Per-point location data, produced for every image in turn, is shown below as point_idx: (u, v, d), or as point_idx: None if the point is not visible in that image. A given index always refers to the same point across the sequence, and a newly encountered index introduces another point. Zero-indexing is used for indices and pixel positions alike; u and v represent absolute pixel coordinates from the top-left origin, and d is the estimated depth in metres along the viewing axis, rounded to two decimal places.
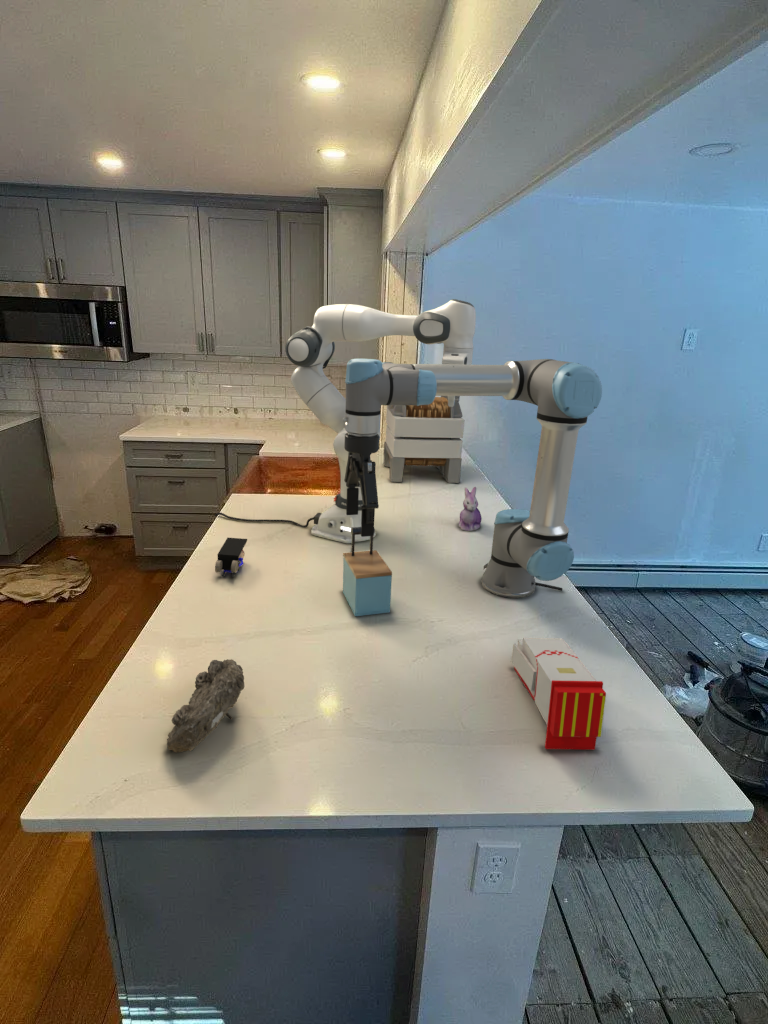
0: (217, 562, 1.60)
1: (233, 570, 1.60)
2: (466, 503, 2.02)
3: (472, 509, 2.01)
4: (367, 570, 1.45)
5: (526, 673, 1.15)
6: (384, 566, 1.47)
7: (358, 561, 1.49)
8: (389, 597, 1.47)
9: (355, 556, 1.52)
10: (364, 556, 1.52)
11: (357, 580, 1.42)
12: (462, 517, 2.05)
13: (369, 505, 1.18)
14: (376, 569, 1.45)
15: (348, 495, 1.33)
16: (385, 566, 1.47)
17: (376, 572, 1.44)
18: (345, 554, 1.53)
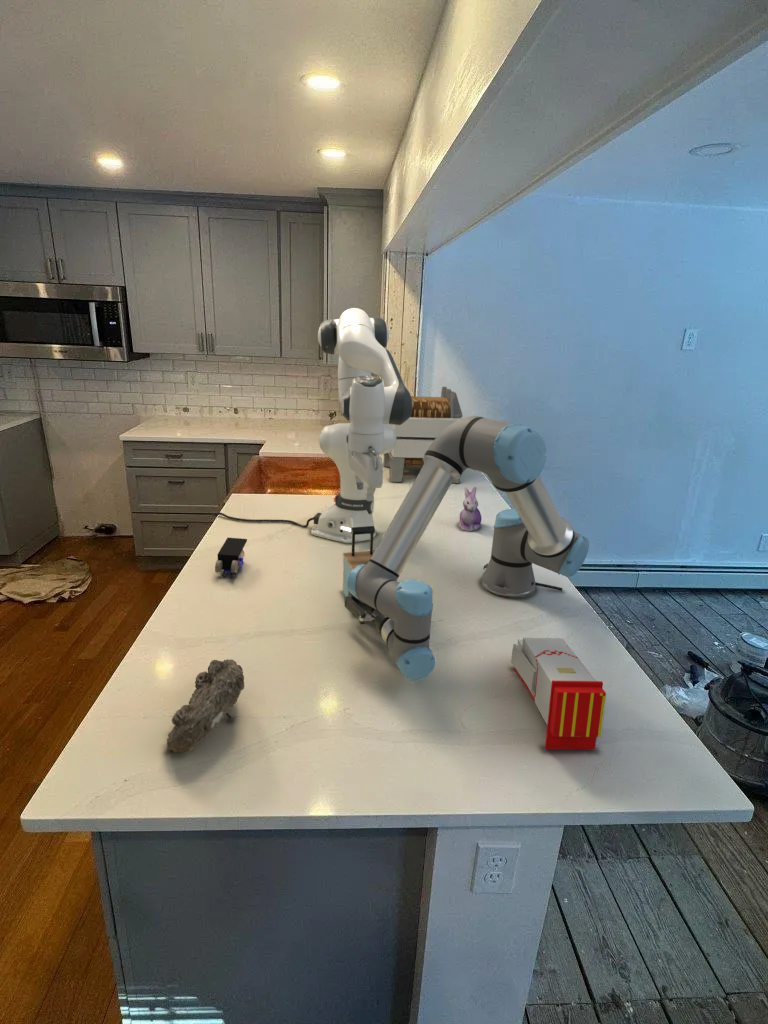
0: (217, 562, 1.60)
1: (233, 570, 1.60)
2: (466, 503, 2.02)
3: (472, 509, 2.01)
4: None
5: (526, 673, 1.15)
6: None
7: (358, 561, 1.49)
8: None
9: (355, 556, 1.52)
10: (364, 556, 1.52)
11: None
12: (462, 517, 2.05)
13: None
14: None
15: None
16: None
17: None
18: (345, 554, 1.53)
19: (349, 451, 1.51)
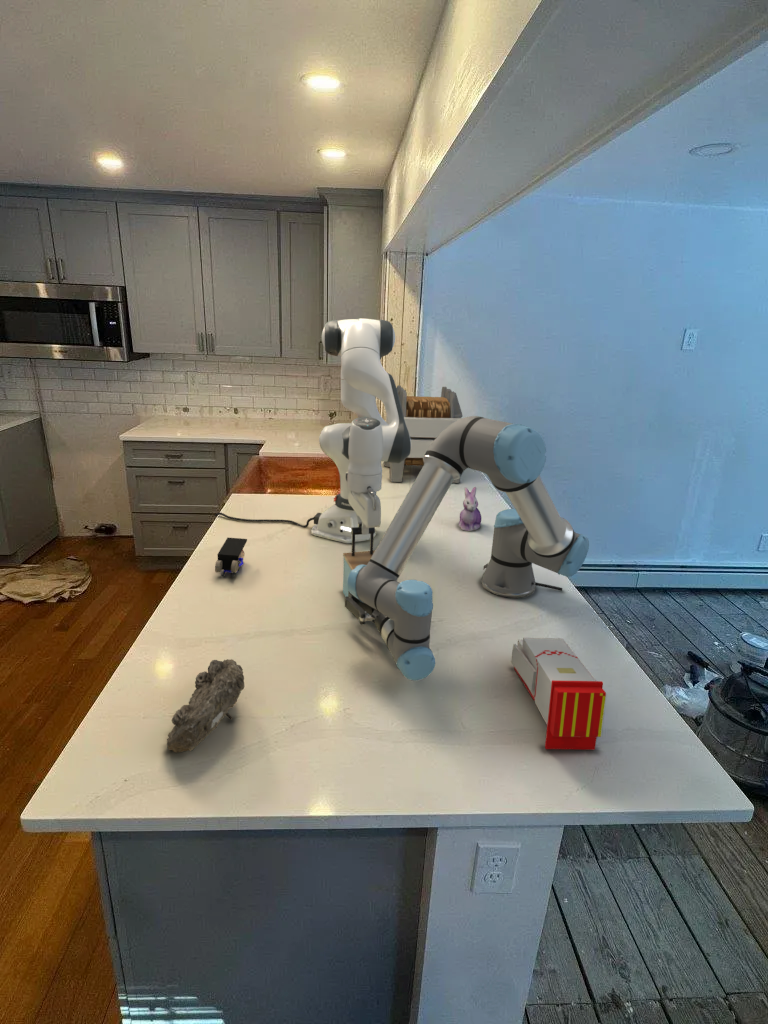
0: (217, 562, 1.60)
1: (233, 570, 1.60)
2: (466, 503, 2.02)
3: (472, 509, 2.01)
4: None
5: (526, 673, 1.15)
6: None
7: (358, 561, 1.49)
8: None
9: (355, 556, 1.52)
10: (364, 556, 1.52)
11: None
12: (462, 517, 2.05)
13: None
14: None
15: None
16: None
17: None
18: (345, 554, 1.53)
19: None
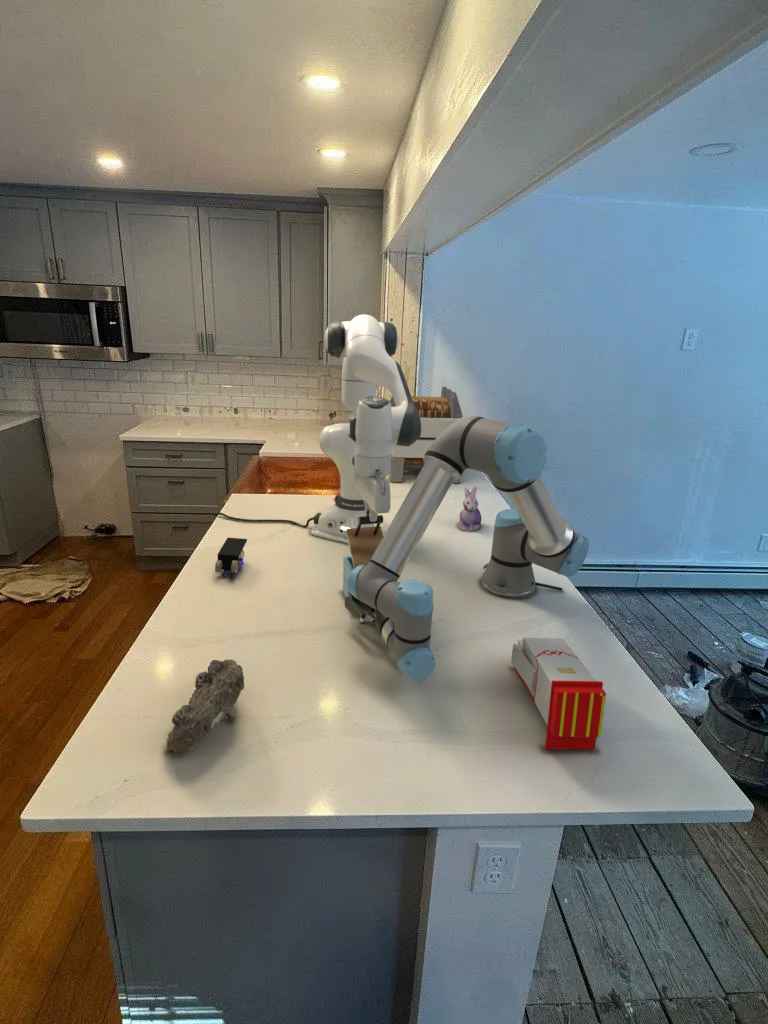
0: (217, 562, 1.60)
1: (233, 570, 1.60)
2: (466, 503, 2.02)
3: (472, 509, 2.01)
4: None
5: (526, 673, 1.15)
6: None
7: (361, 548, 1.46)
8: None
9: (358, 537, 1.48)
10: (367, 538, 1.48)
11: None
12: (462, 517, 2.05)
13: None
14: None
15: None
16: None
17: None
18: (349, 532, 1.48)
19: (355, 473, 1.46)
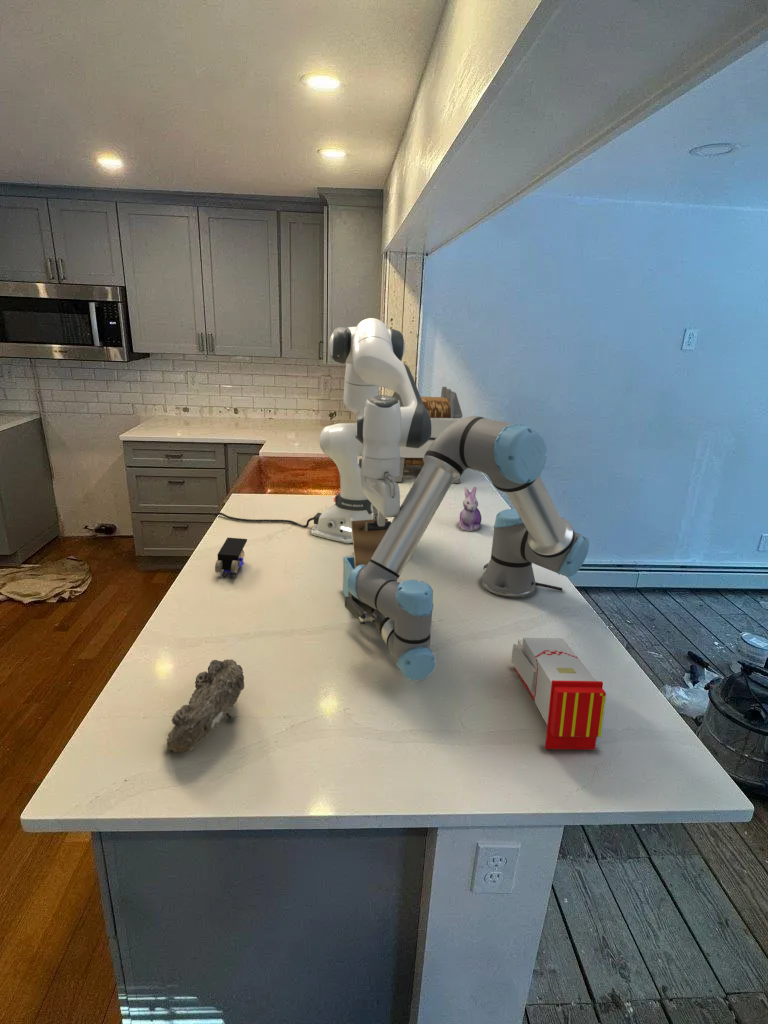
0: (217, 562, 1.60)
1: (233, 570, 1.60)
2: (466, 503, 2.02)
3: (472, 509, 2.01)
4: None
5: (526, 673, 1.15)
6: None
7: (364, 544, 1.42)
8: None
9: (363, 531, 1.43)
10: (372, 533, 1.43)
11: None
12: (462, 517, 2.05)
13: None
14: None
15: None
16: None
17: None
18: (354, 526, 1.42)
19: (362, 476, 1.40)
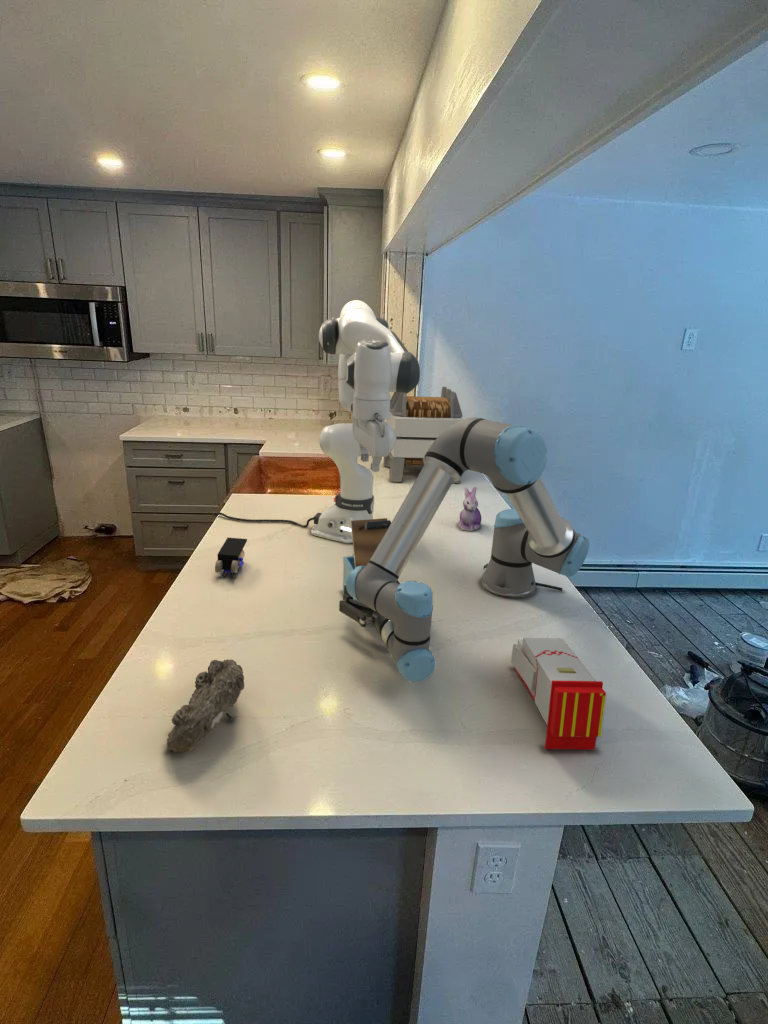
0: (217, 562, 1.60)
1: (233, 570, 1.60)
2: (466, 503, 2.02)
3: (472, 509, 2.01)
4: None
5: (526, 673, 1.15)
6: None
7: (364, 544, 1.43)
8: None
9: (363, 531, 1.43)
10: (372, 532, 1.44)
11: None
12: (462, 517, 2.05)
13: None
14: None
15: None
16: None
17: None
18: (353, 525, 1.43)
19: (353, 421, 1.44)
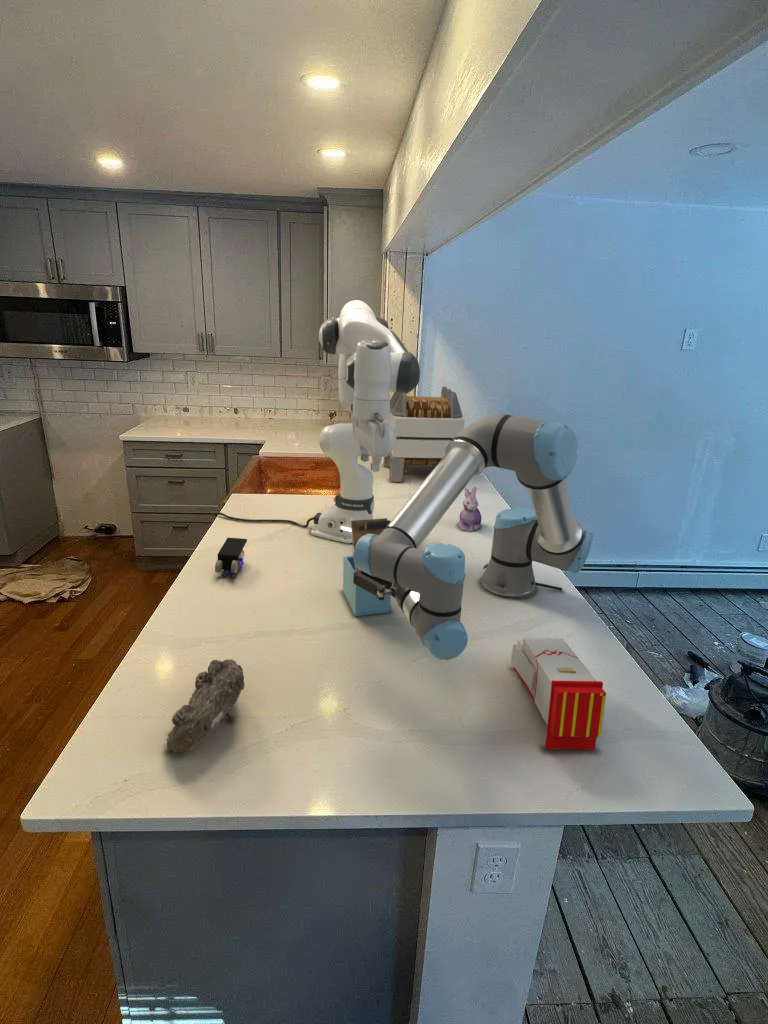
0: (217, 562, 1.60)
1: (233, 570, 1.60)
2: (466, 503, 2.02)
3: (472, 509, 2.01)
4: None
5: (526, 673, 1.15)
6: None
7: None
8: (389, 597, 1.47)
9: (363, 531, 1.43)
10: (372, 532, 1.44)
11: None
12: (462, 517, 2.05)
13: None
14: None
15: None
16: None
17: None
18: (353, 525, 1.43)
19: (353, 421, 1.44)
